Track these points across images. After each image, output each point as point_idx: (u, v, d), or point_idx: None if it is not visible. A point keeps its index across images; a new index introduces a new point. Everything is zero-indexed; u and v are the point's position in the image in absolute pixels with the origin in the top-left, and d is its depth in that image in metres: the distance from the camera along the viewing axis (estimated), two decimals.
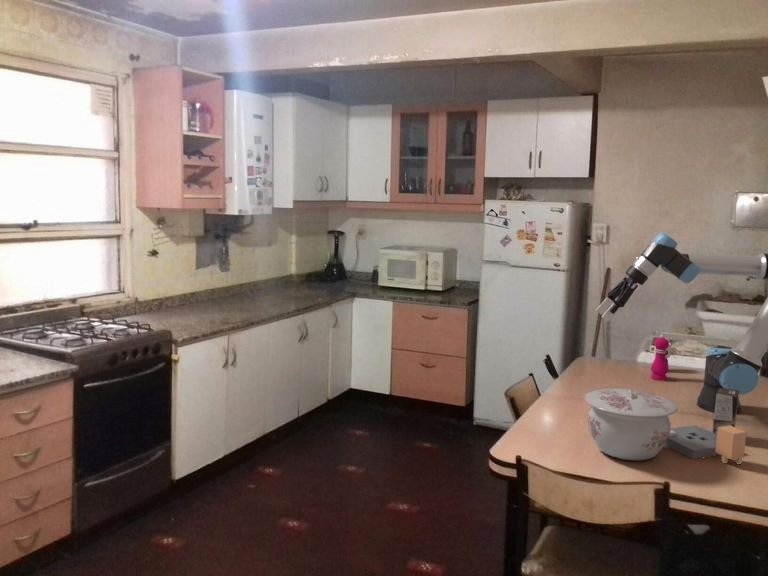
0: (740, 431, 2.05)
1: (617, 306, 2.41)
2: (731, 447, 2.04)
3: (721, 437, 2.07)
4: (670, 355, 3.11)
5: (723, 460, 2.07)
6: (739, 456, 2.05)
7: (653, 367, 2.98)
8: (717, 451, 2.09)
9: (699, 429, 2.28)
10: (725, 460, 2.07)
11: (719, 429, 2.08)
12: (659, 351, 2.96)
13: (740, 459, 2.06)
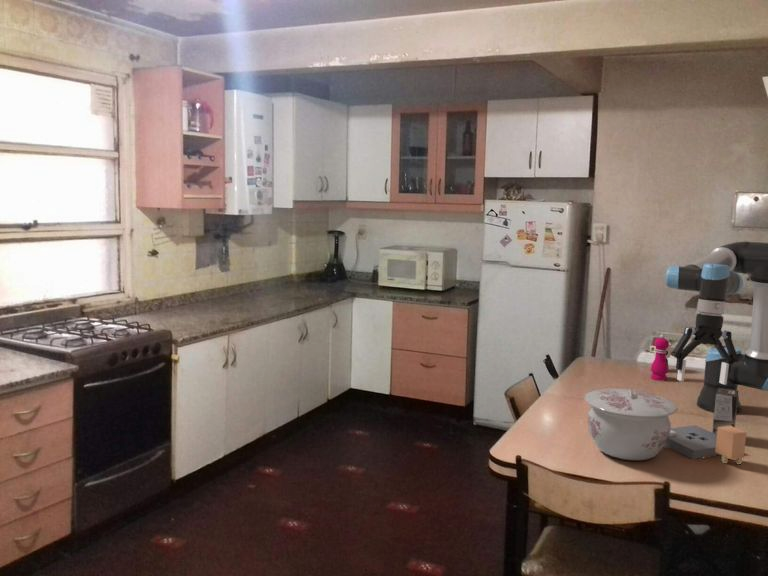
0: (740, 431, 2.05)
1: None
2: (731, 447, 2.04)
3: (721, 437, 2.07)
4: (670, 355, 3.11)
5: (723, 460, 2.07)
6: (739, 456, 2.05)
7: (653, 367, 2.98)
8: (717, 451, 2.09)
9: (699, 429, 2.28)
10: (725, 460, 2.07)
11: (719, 429, 2.08)
12: (659, 351, 2.96)
13: (740, 459, 2.06)
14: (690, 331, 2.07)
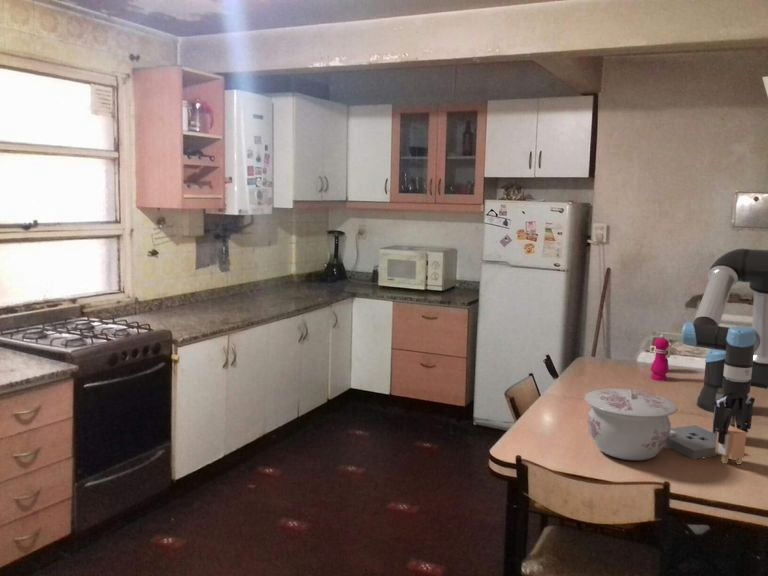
0: (740, 431, 2.05)
1: None
2: (731, 447, 2.04)
3: None
4: (670, 354, 3.11)
5: (723, 460, 2.07)
6: (739, 456, 2.05)
7: (653, 367, 2.98)
8: (717, 451, 2.09)
9: (699, 429, 2.28)
10: (725, 460, 2.07)
11: None
12: (659, 351, 2.96)
13: (740, 459, 2.06)
14: (723, 404, 2.02)
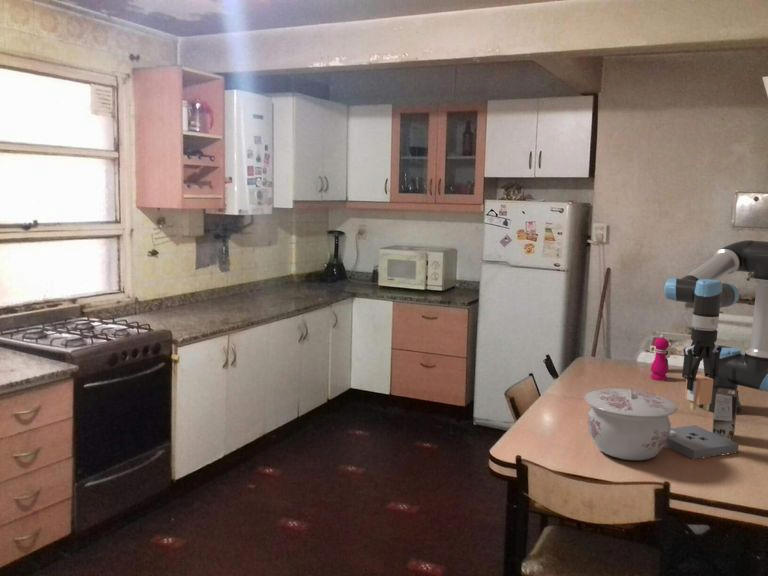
0: (707, 378, 2.16)
1: None
2: (699, 393, 2.15)
3: None
4: (670, 354, 3.11)
5: (691, 406, 2.18)
6: (706, 402, 2.16)
7: (653, 367, 2.98)
8: (686, 398, 2.20)
9: (699, 429, 2.28)
10: (693, 406, 2.18)
11: None
12: (659, 351, 2.96)
13: (707, 405, 2.17)
14: (690, 351, 2.13)
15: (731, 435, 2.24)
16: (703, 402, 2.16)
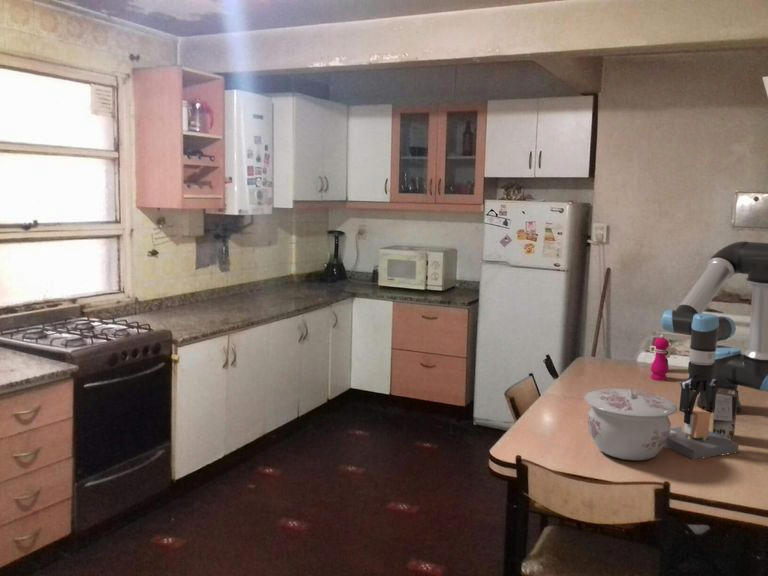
0: (704, 411, 2.18)
1: None
2: (696, 426, 2.17)
3: None
4: (670, 355, 3.11)
5: None
6: (703, 435, 2.18)
7: (653, 367, 2.98)
8: (683, 431, 2.22)
9: None
10: None
11: None
12: (659, 351, 2.96)
13: (704, 438, 2.19)
14: (687, 386, 2.15)
15: (731, 435, 2.24)
16: (700, 435, 2.18)
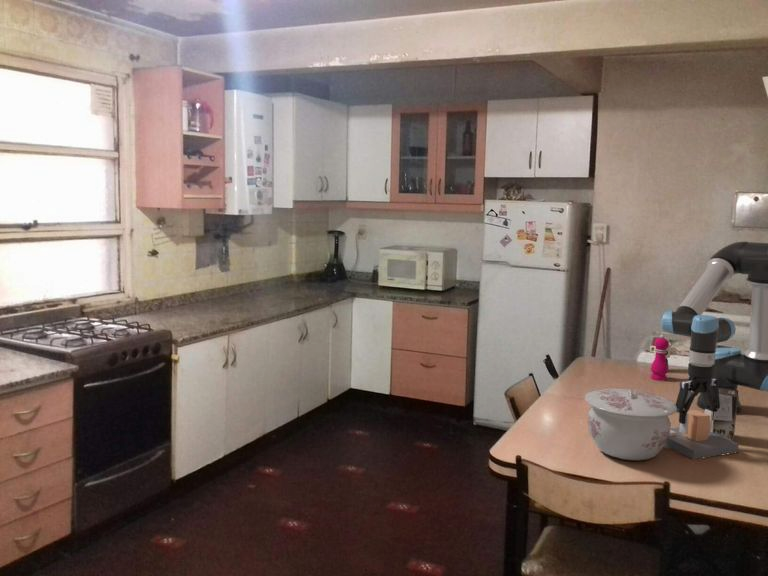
0: (704, 415, 2.18)
1: None
2: (695, 430, 2.17)
3: None
4: (670, 355, 3.11)
5: None
6: (703, 438, 2.18)
7: (653, 367, 2.98)
8: (683, 434, 2.22)
9: None
10: None
11: None
12: (659, 351, 2.96)
13: None
14: (687, 385, 2.15)
15: (731, 435, 2.24)
16: (700, 438, 2.18)
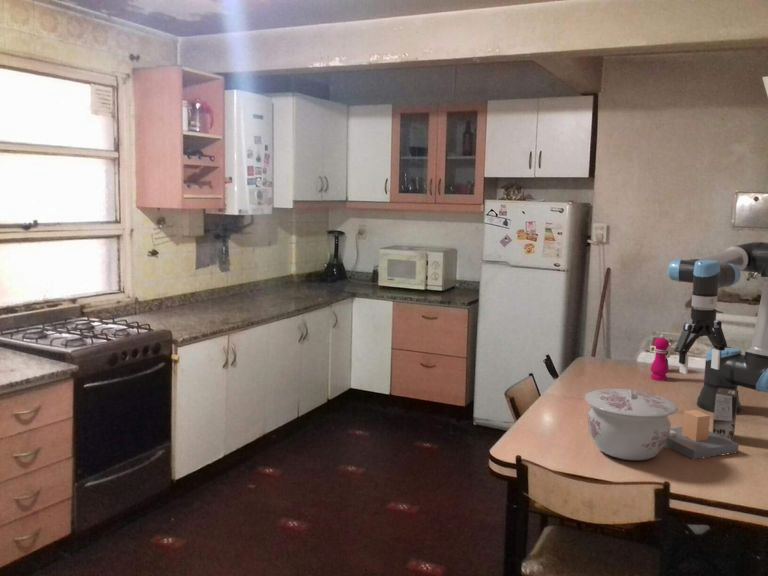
0: (704, 415, 2.18)
1: None
2: (695, 430, 2.17)
3: (687, 420, 2.20)
4: (670, 355, 3.11)
5: None
6: (703, 438, 2.18)
7: (653, 367, 2.98)
8: (683, 434, 2.22)
9: None
10: None
11: (685, 413, 2.21)
12: (659, 351, 2.96)
13: None
14: (691, 327, 2.19)
15: (731, 435, 2.24)
16: (700, 438, 2.18)
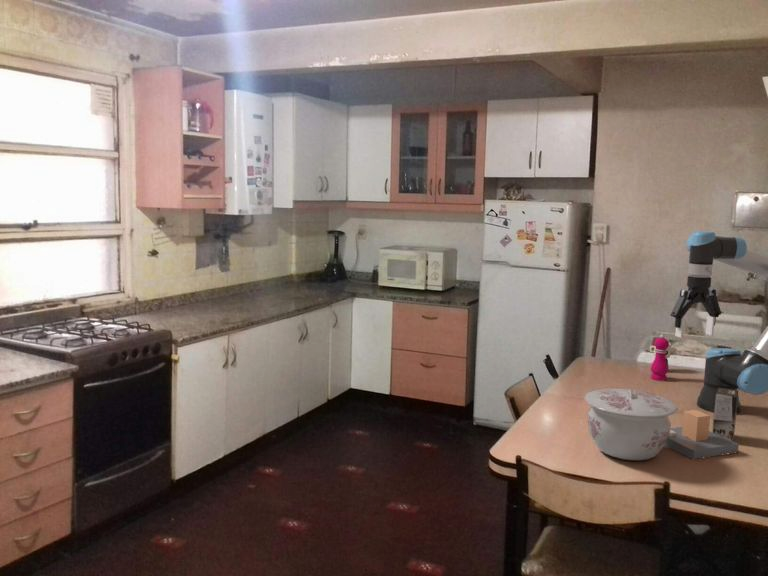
0: (704, 415, 2.18)
1: None
2: (695, 430, 2.17)
3: (687, 420, 2.20)
4: (670, 355, 3.11)
5: None
6: (703, 438, 2.18)
7: (653, 367, 2.98)
8: (683, 434, 2.22)
9: None
10: None
11: (685, 413, 2.21)
12: (659, 351, 2.96)
13: None
14: (686, 293, 2.34)
15: (731, 435, 2.24)
16: (700, 438, 2.18)
